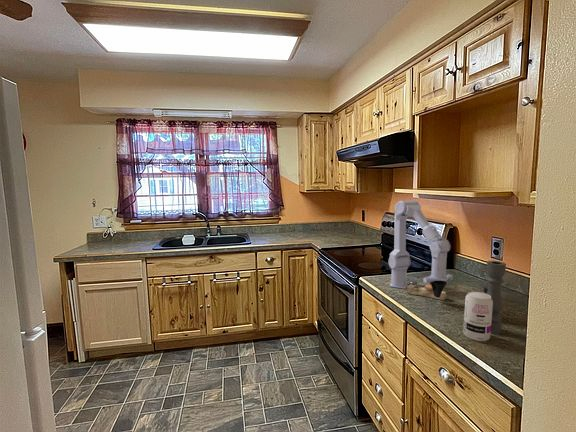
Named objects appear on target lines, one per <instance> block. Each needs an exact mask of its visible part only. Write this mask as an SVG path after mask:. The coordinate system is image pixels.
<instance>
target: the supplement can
mask: <svg viewBox="0 0 576 432" xmlns="http://www.w3.org/2000/svg"><path fill="white" fill-rule="evenodd" d="M492 308H493V300H492V298H491V296H490V295H488V294H486V293H484V292H481V291H468V292H467V294H466V296H465V300H464V313H463V314H464V315H463V328H462V329H463V331H462V333H463V334H464V335H465V337H467V338H468V339H470V340H473V341H477V342H486V341H489V340H490V339H491V335H492V333H491V321H492Z"/></svg>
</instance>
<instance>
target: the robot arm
mask: <svg viewBox="0 0 576 432" xmlns="http://www.w3.org/2000/svg"><path fill="white" fill-rule="evenodd" d="M421 209H422V206H421V205H420V204H419V201H418V200H415V199H414V200H399V201H398V202H397V203H396V204H395V206H394V220H393V221H394V228H393V229H394V230H393V231H394V235H393V236H394V237H393V238H394V239H393V240H394V242H393V244H394V245H393V248H394V249H393V250H392V251H391V252H390V253H389V258H388V262H387V263H388V266H389V268H390V269H391V276H390V277H391V279H390V284H389V286H388V287H391V288H399V289H406V290H407V286H409V282H407V275H408V274H407V273H408V272H407V270H408V269H409V267H410V266H411V257H410V252H408V251H407V248H406V246H407V240H406V238H407V236H406V235H407V219H408V218H409V217H412V218H413V219H414V220H415V221H416V223H417V224H418V225H419V226H420V228H421V229H422V231H421V233H422V235H423V236H424V238H425V239H426V241H427V242H428V243H429V250H430V252H431V273H430V275H428V276H425V277H422V280H423V281H422V283H425V284H428V283H429V284H431V286H432V289H433V292H434V296H435V297H437V298H439V297H440V296H441V293H442V291H443V290H444V288H445V287H446V286H447V283H448V282H447V280H448V281H449V280H451V281H452V280H453V278H454V277H453V276H454V275H452V274H447V258H448V252H450V251H451V243H450V241H449V240H448V239H446V238H444V237H442V235H441V234H440V233H439V231H438V229H437V227H436V226H434V225H430V223H429V221H428V219H427V218H426V216H425V214H424V213H423V212H422V210H421Z"/></svg>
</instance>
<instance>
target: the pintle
mask: <svg viewBox="0 0 576 432" xmlns="http://www.w3.org/2000/svg"><path fill="white" fill-rule="evenodd" d="M409 284H411V287H414V288H415V285H416V286H417V285H418V281H417V280H410V281H409Z"/></svg>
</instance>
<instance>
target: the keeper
mask: <svg viewBox="0 0 576 432" xmlns="http://www.w3.org/2000/svg"><path fill="white" fill-rule="evenodd" d="M423 288H424V289H428V290H432V286H431V284H430V282H428V283H426V284H425V286H423Z"/></svg>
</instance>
